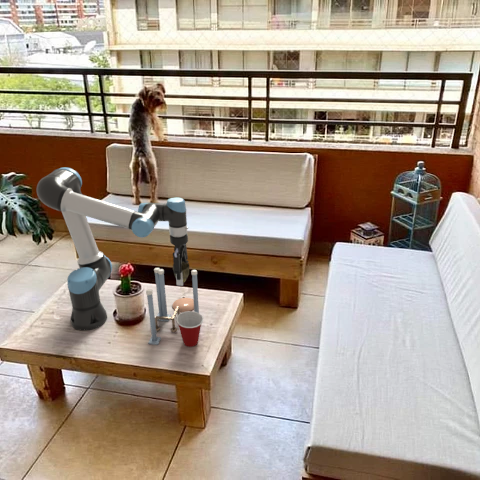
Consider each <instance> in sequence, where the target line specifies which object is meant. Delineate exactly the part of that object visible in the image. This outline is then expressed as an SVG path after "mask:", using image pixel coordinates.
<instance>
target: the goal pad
mask: <svg viewBox="0 0 480 480" xmlns="http://www.w3.org/2000/svg"><path fill="white" fill-rule="evenodd" d="M177 306H179V308H180V313H182V312H186V311H194V299H193V298H191V297H181V298H178V299H176V300H175V301H173V303H172V309H173V310H174V311H175V310H176V308H177Z"/></svg>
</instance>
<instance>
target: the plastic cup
mask: <svg viewBox="0 0 480 480" xmlns="http://www.w3.org/2000/svg"><path fill="white" fill-rule="evenodd" d="M176 316H177V315H176ZM175 321H176V323H177V325H178V326H177V327H178V329H179V331H180V336H181V338H182V342H183V344H184V346H186V347H195V346H197V345H198V343H199V339H200V338H199V337H200V333H201V328H202V324H203V323H204V317H203V314H201V313H200V312H199V313H197V312H194V310H191V311H186V312H180V314H179V315H178V316H177V318H176V317H175Z"/></svg>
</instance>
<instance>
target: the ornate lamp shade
mask: <svg viewBox="0 0 480 480" xmlns="http://www.w3.org/2000/svg"><path fill="white" fill-rule="evenodd" d="M172 270H173V272H174V263H173V264H172ZM181 272H182V276H183V283H185V282H186V281H187V279H188V277H189V275H190V263H189V262H188V263H187V262H186V263H184V262H182V267H181ZM173 275H174V278H176V274H174V273H173Z"/></svg>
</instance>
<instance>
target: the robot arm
mask: <svg viewBox="0 0 480 480" xmlns="http://www.w3.org/2000/svg"><path fill="white" fill-rule="evenodd" d="M82 185H83V180H82V177H81V176H80V174H79V172H78V171H77V170H74V169H73V168H71V167H60V168H57V169H54V170H53V171H52V172H51V173H49V174H47V175H46V176H44V177H42V178H41V179H40V180H39V181H38V183H37V185H36V195H37V198H38V199H39V200H40V202H41V203H42V204H44V205H45V206H47V207H48V208H51V209H53V210H56V211H58V212H61V213H62V216H63V219H64V221H65V225H66V226H67V229H68V231H69V234H70V236H71V240H72V242H73V244H74V247H75V250H76V252H77V255H78V259H77V265H78V268H77V269H74V270H72V271H71V272H70V273H69V274H68V277H67V279H66V282H67V284H66V285H67V288H68V293H69V297H70V302H71V303H70V304H71V308H72V309H71V313H70V314H71V315H70V323H71V326H72V328H73V329H75V330H77V331H90V330H95V329H97V328H99V327H101V326H102V325H104V324H105V323H106V321H107V319H108V314H107V310H106V309H105V308H104V306H103V304H102V303H101V299H100V298H101V296H100V290H101V288H102V287H103V286H104V285H105V283H106V282H107V280H108V279H109V278H110V276H111V274H112V272H113V264H112V261H111V260H110V258H109V257H107V256H106V255H105V254H104V252H103V251H100V250H99V248H98V245H97V243H96V239H95V238H94V237H95V236H94V235H93V232H92V229H91V226H90V224H89V221H88V218H90V219H95V220H98V221H101V222H104V223H108V224H112V225H115V226H118V227H121V228H125V229H128V230H131V231H132V233H133V234H134V235H135V236H136V237H138V238H147V237H148V236H149V235H150V234H151V233H152V232H153V231H154V229H155V227H156V225H157V224H158V223H159V222H168V229H169V230H168V231H169V241H170V244H171V245H173V246H174V247H173V251H174V252H173V251H172V261H173V264H174V271H173V275H174V274H176V277H175V280H176V286H180V287H181V286H182V287H183V286H184V282H183V276H182V272H181V267H182V262H184V263H186V262H187V263H189V259H188V257H189V256H188V251H187V250H188V248H187V244H188V242H189V237H188V229H189V227H188V225H187V224H188V222H187V220H188V219H187V207H186V201H185V199H184V198H182V197H171V198H168V199H167V201H166V202H165V203H163V202H159V203H158V202H141V203H139V205H138V208H137V211H136V210H132V209H129V208H127V207H123V206H120V205H116V204H113V203H110V202H107V201H104V200H101V199H97V198H94V197H91V196H87V195H85V194H83V193H82V191H81V189H82V188H81V187H82Z"/></svg>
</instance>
